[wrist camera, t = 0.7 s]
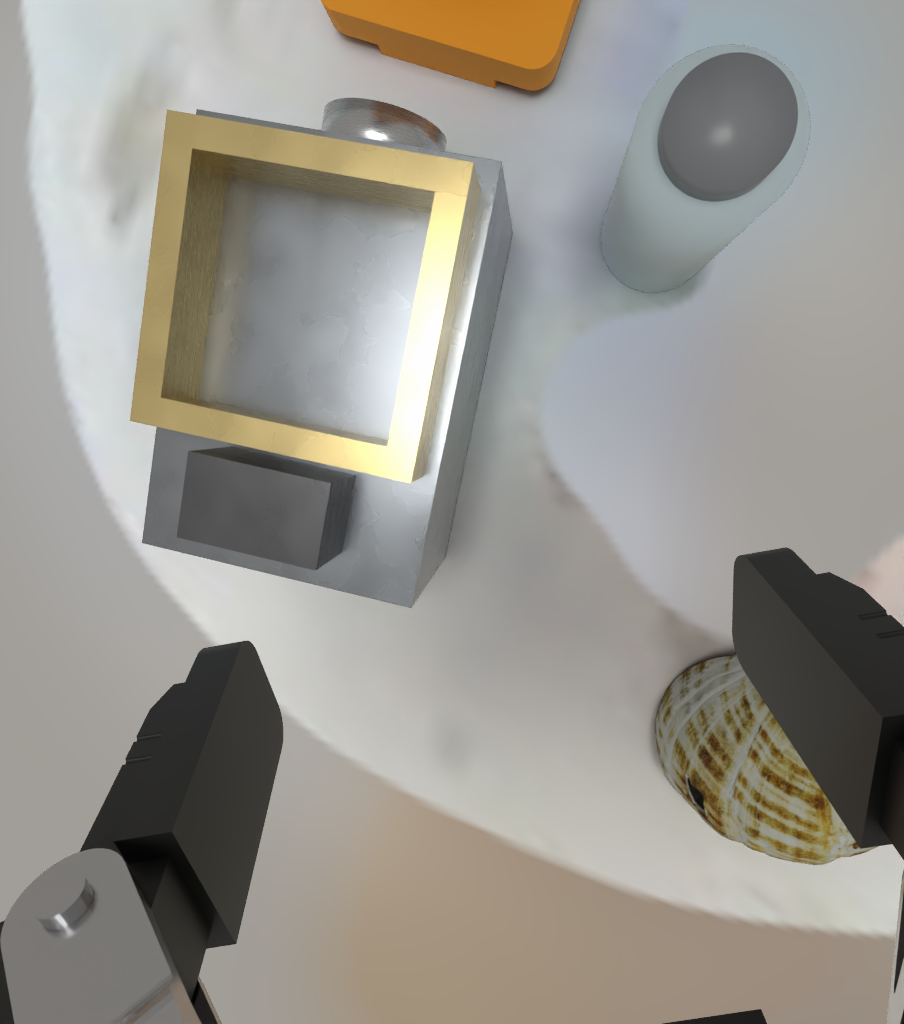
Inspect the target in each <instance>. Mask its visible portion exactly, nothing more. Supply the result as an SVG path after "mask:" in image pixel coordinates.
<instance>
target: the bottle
mask: <svg viewBox="0 0 904 1024" xmlns="http://www.w3.org/2000/svg"><path fill="white" fill-rule="evenodd" d="M810 128H811V127H810V113H809V107H808V102H807V100H806V96H805V93H804V91H803V89H802V87H801V85H800V83H799V81H798V80H797V79H796V77H795V76H794V74H793V73H792V72H791V71H790V70H789V69H788V67H787V66H786V65H785V64H783V63H782V62H781V61H780V60H778V59H777V58H776V57H774V56H772V55H770V54H769V53H767V52H765V51H762V50H759V49H757V48H754V47H749V46H745V45H733V44H731V45H719V46H714V47H708V48H705V49H702V50H699V51H697V52H695V53H693V54H690V55H688V56H686V57H685V58H683V59H682V60H680V61H679V62H677V63H676V64H674V65H673V66H672V67H671V68H669V69H668V70H667V71H666V72H665V73H664V74H663V75H662V76H661V77H660V78H659V79H658V80H657V82H656V83H655V84H654V86H653V87H652V88H651V90H650V91H649V93H648V95H647V97H646V98H645V100H644V102H643V105H642V107H641V109H640V111H639V114H638V117H637V120H636V124H635V127H634V130H633V133H632V136H631V139H630V142H629V145H628V148H627V151H626V154H625V157H624V160H623V163H622V166H621V170H620V173H619V176H618V179H617V182H616V185H615V188H614V191H613V194H612V197H611V200H610V203H609V206H608V209H607V212H606V216H605V219H604V222H603V225H602V230H601V249H602V254H603V257H604V260H605V263H606V264H607V266H608V268H609V270H610V271H611V272H612V274H613V275H614V276H615V277H616V278H617V279H618V280H619V281H620V282H622V283H623V284H625V285H626V286H628V287H630V288H632V289H635V290H638V291H642V292H649V293H653V292H663V291H667V290H671V289H674V288H676V287H678V286H680V285H682V284H683V283H685V282H686V281H688V280H689V279H690V278H692V277H693V276H694V275H695V274H696V273H697V272H698V271H699V270H701V269H702V268H703V267H704V266H705V265H706V264H707V263H708V262H709V261H710V260H712V259H713V258H714V257H715V256H716V255H717V254H718V253H719V252H720V251H721V250H723V248H724V247H726V246H727V245H728V244H729V243H730V242H731V241H732V240H734V239H735V238H736V237H737V236H738V235H739V234H740V233H741V232H742V231H743V230H745V229H746V228H747V227H748V226H749V225H750V224H751V223H752V222H753V221H755V220H756V219H757V218H758V217H759V216H760V215H761V214H762V213H763V212H764V211H766V210H767V209H768V208H769V207H770V206H771V205H772V204H773V203H774V202H775V201H776V200H777V199H778V198H780V197H781V196H782V195H783V194H784V192H785V191H786V190H787V189H788V187H789V186H790V185H791V184H792V182H793V180H794V179H795V177H796V176H797V174H798V172H799V170H800V168H801V166H802V164H803V162H804V159H805V156H806V152H807V149H808V144H809V139H810Z"/></svg>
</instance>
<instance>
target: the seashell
mask: <svg viewBox="0 0 904 1024" xmlns="http://www.w3.org/2000/svg"><path fill="white" fill-rule="evenodd" d="M655 733H656V741H657V749H658V755H659V759H660V763H661V766H662V769H663V772H664V775H665V776H666V778H667V780H668V781H669V783H670V784H671V785H672V787H673V788H674V789H675V790H676V791H677V792H678V793H679V794H680V795H682V797H683V798H684V799H685V800H686V801H687V802H688V803H689V804H690V805H691V806H692V807H693V808H694V809H695V810H696V811H697V812H698V813H699V814H700V816H701V817H702V819H703V820H704V821H705V822H706V823H707V824H708V825H709V826H710V827H712V828H713V829H714V830H715V831H716V832H718V833H719V834H720V835H722V836H724V837H726V838H728V839H730V840H733V841H737V842H740V843H743V844H744V845H746V846H747V847H749V848H750V849H752V850H755V851H759V852H762V853H765V854H767V855H769V856H772V857H775V858H779V859H783V860H787V861H792V862H799V863H806V864H813V865H822V864H826V863H829V862H832V861H834V860H835V859H837V858H840V857H851V856H854V855H858V854H861V853H864V852H867V851H869V850H871V849H873V848H876V847H878V846H876V847H869V848H863V849H860V848H859V846H858V845H857V843H856V842H855V840H854V838H853V837H852V835H851V834H850V832H849V831H848V829H847V828H846V826H845V825H844V823H843V822H842V820H841V819H840V817H839V816H838V814H837V812H836V811H835V809H834V808H833V806H832V805H831V803H830V802H829V800H828V799H827V797H826V796H825V794H824V793H823V791H822V790H821V788H820V786H819V785H818V783H817V782H816V780H815V779H814V777H813V776H812V774H811V773H810V771H809V770H808V768H807V767H806V765H805V764H804V762H803V760H802V759H801V757H800V756H799V754H798V753H797V751H796V750H795V748H794V747H793V745H792V744H791V742H790V741H789V739H788V738H787V736H786V734H785V733H784V731H783V730H782V728H781V727H780V725H779V724H778V722H777V721H776V719H775V718H774V716H773V715H772V713H771V712H770V710H769V709H768V707H767V705H766V704H765V702H764V701H763V699H762V698H761V696H760V695H759V693H758V692H757V690H756V689H755V687H754V686H753V684H752V683H751V681H750V679H749V678H748V676H747V675H746V673H745V672H744V670H743V668H742V666H741V664H740V662H739V660H738V657H737V654H735V655H732V656H724V657H719V658H714V659H710V660H707V661H704V662H702V663H699V664H697V665H695V666H693V667H691V668H690V669H688V670H686V671H685V672H684V673H682V674H681V675H680V676H679V677H677V678H676V679H675V680H674V682H673V683H672V684H671V685H670V687H669V688H668V689H667V691H666V692H665V694H664V697H663V700H662V702H661V705H660V708H659V710H658V713H657V717H656V724H655ZM688 776H689V777H688Z"/></svg>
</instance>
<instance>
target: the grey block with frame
mask: <svg viewBox="0 0 904 1024" xmlns="http://www.w3.org/2000/svg"><path fill="white" fill-rule="evenodd" d="M445 148H446V138H445V136H444V134H443V133H442V132H441V131H440V130H439V129H438V128H437V127H436V126H435V125H434V124H432V123H431V122H429V121H428V120H426V119H425V118H423V117H421V116H419V115H417V114H415V113H413V112H411V111H408V110H406V109H403V108H400V107H398V106H394V105H391V104H388V103H384V102H380V101H375V100H369V99H361V98H343V99H337V100H334V101H331V102H330V103H328V104H327V105H326V107H325V110H324V116H323V122H322V129H321V130H315V129H309V128H303V127H298V126H292V125H286V124H280V123H274V122H268V121H263V120H257V119H251V118H245V117H239V116H233V115H227V114H222V113H216V112H210V111H204V110H198V109H197V113H196V115H195V114H189V113H183V112H177V111H172V110H167V115H166V124H165V132H164V141H163V149H162V157H161V166H160V174H159V182H158V191H157V199H156V208H155V216H154V224H153V233H152V241H151V249H150V258H149V266H148V275H147V283H146V291H145V300H144V308H143V316H142V325H141V333H140V342H139V350H138V358H137V367H136V375H135V383H134V392H133V400H132V409H131V417H130V421H134V422H138V423H143V424H147V425H152V426H156V427H157V429H156V437H155V445H154V452H153V460H152V468H151V476H150V484H149V492H148V500H147V508H146V516H145V524H144V532H143V539H142V543H145V544H149V545H153V546H157V547H161V548H165V549H170V550H174V551H178V552H182V553H186V554H190V555H194V556H198V557H203V558H207V559H211V560H215V561H219V562H223V563H227V564H232V565H236V566H240V567H244V568H248V569H252V570H256V571H260V572H265V573H269V574H273V575H277V576H281V577H285V578H289V579H293V580H298V581H302V582H306V583H310V584H314V585H318V586H322V587H327V588H331V589H335V590H339V591H343V592H347V593H351V594H355V595H360V596H364V597H368V598H372V599H376V600H380V601H384V602H389V603H393V604H397V605H401V606H405V607H409V608H412V606H413V605H414V603H415V602H416V600H417V599H418V597H419V596H420V594H421V593H422V591H423V590H424V588H425V587H426V585H427V584H428V582H429V581H430V579H431V578H432V576H433V575H434V573H435V572H436V570H437V569H438V567H439V566H440V564H441V563H442V561H443V560H444V558H445V555H446V550H447V546H448V541H449V536H450V531H451V526H452V522H453V517H454V512H455V507H456V503H457V498H458V493H459V488H460V483H461V479H462V474H463V469H464V464H465V459H466V455H467V450H468V445H469V440H470V435H471V431H472V426H473V421H474V416H475V412H476V407H477V402H478V397H479V392H480V388H481V383H482V378H483V373H484V368H485V364H486V359H487V354H488V349H489V344H490V340H491V335H492V330H493V325H494V321H495V316H496V311H497V306H498V301H499V297H500V292H501V287H502V282H503V277H504V273H505V268H506V263H507V258H508V253H509V249H510V244H511V239H512V234H513V232H512V225H511V219H510V212H509V206H508V200H507V193H506V187H505V180H504V174H503V167H502V161H497V160H491V159H485V158H479V157H473V156H467V155H461V154H456V153H450V152H445Z"/></svg>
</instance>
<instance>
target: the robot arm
mask: <svg viewBox="0 0 904 1024" xmlns="http://www.w3.org/2000/svg"><path fill="white" fill-rule="evenodd" d="M733 581H734V582H733V620H732V623H733V624H732V635H733V642H734V647H735V651H736V654H737V657H738V660H739V662H740V664H741V666H742V668H743V670H744V672H745V673H746V675H747V676H748V678H749V679H750V681H751V683H752V684H753V686H754V687H755V689H756V690H757V692H758V693H759V695H760V696H761V698H762V699H763V701H764V702H765V704H766V705H767V707H768V709H769V710H770V712H771V713H772V715H773V716H774V718H775V719H776V721H777V722H778V724H779V725H780V727H781V728H782V730H783V731H784V733H785V734H786V736H787V738H788V739H789V741H790V742H791V744H792V745H793V747H794V748H795V750H796V751H797V753H798V754H799V756H800V757H801V759H802V760H803V762H804V764H805V765H806V767H807V768H808V770H809V771H810V773H811V774H812V776H813V777H814V779H815V780H816V782H817V783H818V785H819V786H820V788H821V790H822V791H823V793H824V794H825V796H826V797H827V799H828V800H829V802H830V803H831V805H832V806H833V808H834V809H835V811H836V812H837V814H838V816H839V817H840V819H841V820H842V822H843V823H844V825H845V826H846V828H847V829H848V831H849V832H850V834H851V835H852V837H853V838H854V840H855V842H856V843H857V845H858V846H859V848H860V849H863V848H869V847H876V846H882V845H888V844H893V845H894V847H895V848H896V850H897V851H898V852H899V854H900V855H901V857H902V858H903V859H904V627H903V626H902V625H901V624H900V623H899V622H898V621H897V620H896V619H895V618H894V617H892V616H891V615H887V613H886V610H885V609H884V608H883V607H882V606H881V605H880V604H879V603H878V602H876V601H875V600H874V599H873V598H872V597H871V596H870V595H869V594H868V593H867V592H866V591H865V590H864V589H862V588H860V587H858V586H856V585H854V584H852V583H850V582H848V581H846V580H844V579H842V578H840V577H838V576H836V575H834V574H832V573H830V572H828V573H822V574H817V575H816V574H815V573H814V572H813V571H812V570H811V569H810V568H809V567H808V566H807V565H806V564H805V563H804V562H803V561H802V560H801V559H800V558H799V557H798V556H797V555H796V553H795V552H793V551H792V550H791V549H789V548H780V549H775V550H769V551H763V552H758V553H752V554H746V555H740V556H738V557H737V558H736V560H735V564H734V580H733ZM282 744H283V722H282V716H281V712H280V708H279V705H278V703H277V700H276V698H275V696H274V693H273V691H272V688H271V686H270V683H269V681H268V678H267V676H266V673H265V671H264V668H263V666H262V663H261V661H260V658H259V656H258V653H257V651H256V649H255V647H254V645H253V644H252V643H251V642H250V641H242V642H236V643H231V644H225V645H219V646H214V647H208V648H204V649H202V650H201V651H200V652H199V653H198V655H197V657H196V659H195V662H194V664H193V666H192V668H191V671H190V673H189V675H188V677H187V679H186V682H185V683H179V684H174V685H173V686H172V687H171V688H170V689H169V690H168V691H167V692H166V693H165V694H164V695H163V696H162V697H161V698H160V700H159V701H158V702H157V703H156V704H155V705H154V706H153V707H152V708H151V709H150V711H149V713H148V715H147V717H146V719H145V721H144V723H143V725H142V727H141V729H140V731H139V733H138V735H137V742H134V743H133V745H132V747H131V749H130V751H129V753H128V755H127V757H126V765H122V767H121V769H120V771H119V773H118V775H117V777H116V779H115V781H114V783H113V785H112V787H111V789H110V792H109V794H108V796H107V798H106V800H105V802H104V804H103V806H102V808H101V810H100V812H99V814H98V816H97V818H96V820H95V822H94V824H93V826H92V828H91V830H90V832H89V834H88V836H87V838H86V840H85V842H84V844H83V846H82V848H81V850H80V852H78V853H75V854H73V855H71V856H69V857H67V858H64V859H63V860H61V861H59V862H58V863H56V864H54V865H53V866H51V867H50V868H49V869H47V870H46V871H44V872H43V873H42V874H41V875H40V876H39V877H38V878H36V879H35V880H34V881H33V882H32V883H31V884H30V885H29V886H28V887H27V888H26V889H25V890H24V892H23V893H22V894H21V895H20V896H19V898H18V899H17V900H16V902H15V903H14V905H13V907H12V908H11V910H10V912H9V913H8V915H7V917H6V919H5V921H3V922H1V923H0V1024H222V1023H221V1021H220V1019H219V1016H218V1014H217V1012H216V1010H215V1008H214V1006H213V1004H212V1001H211V999H210V997H209V995H208V992H207V990H206V988H205V986H204V984H203V983H202V981H201V979H200V977H199V972H200V969H201V965H202V961H203V957H204V954H205V950H206V949H207V948H213V947H219V946H225V945H232V944H236V942H237V938H238V934H239V929H240V925H241V921H242V917H243V912H244V908H245V904H246V899H247V895H248V891H249V886H250V882H251V878H252V874H253V869H254V865H255V861H256V856H257V852H258V848H259V844H260V839H261V835H262V831H263V827H264V822H265V818H266V814H267V809H268V805H269V801H270V796H271V792H272V788H273V784H274V779H275V775H276V771H277V766H278V762H279V758H280V754H281V749H282ZM664 1024H767V1023H766V1020H765V1018H764V1016H763V1013H762V1011H761V1009H759V1010H753V1011H745V1012H738V1013H731V1014H725V1015H718V1016H711V1017H704V1018H698V1019H691V1020H684V1021H678V1022H671V1023H664ZM886 1024H904V871H903V875H902V884H901V893H900V902H899V912H898V921H897V930H896V940H895V950H894V958H893V968H892V977H891V986H890V996H889V1005H888V1012H887V1020H886Z"/></svg>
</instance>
